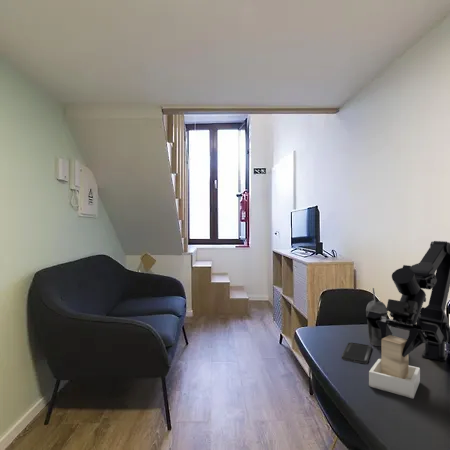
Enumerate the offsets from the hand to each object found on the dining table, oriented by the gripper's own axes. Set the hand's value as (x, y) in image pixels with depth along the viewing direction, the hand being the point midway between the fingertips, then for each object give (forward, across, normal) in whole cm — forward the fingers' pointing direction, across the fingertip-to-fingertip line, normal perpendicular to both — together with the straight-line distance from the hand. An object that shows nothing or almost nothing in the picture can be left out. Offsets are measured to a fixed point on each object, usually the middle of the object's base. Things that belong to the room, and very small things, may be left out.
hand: (392, 353), depth 92 cm
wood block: (+4, 0, +6) cm, 7 cm away
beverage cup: (-12, -18, +26) cm, 34 cm away
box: (+5, 0, +7) cm, 9 cm away
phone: (-3, -18, +16) cm, 24 cm away
